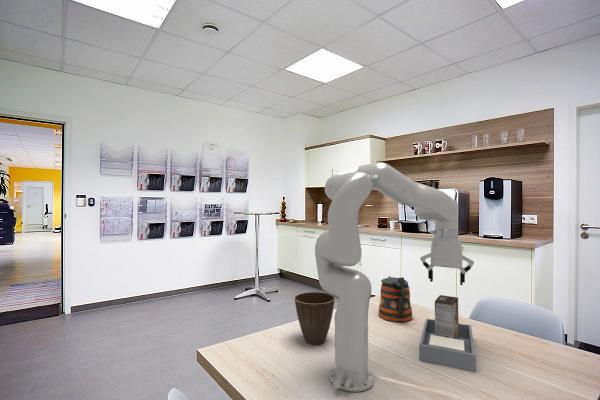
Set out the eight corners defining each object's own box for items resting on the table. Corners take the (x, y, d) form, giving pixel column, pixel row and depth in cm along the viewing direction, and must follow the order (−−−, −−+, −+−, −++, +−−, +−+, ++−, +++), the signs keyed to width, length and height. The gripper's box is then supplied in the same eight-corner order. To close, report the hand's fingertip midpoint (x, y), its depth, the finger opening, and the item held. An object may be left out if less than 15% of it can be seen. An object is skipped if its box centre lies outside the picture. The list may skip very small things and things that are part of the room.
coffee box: (440, 337, 116) (439, 294, 116) (459, 341, 112) (458, 297, 113) (434, 346, 108) (434, 300, 109) (454, 351, 105) (454, 303, 105)
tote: (475, 375, 92) (475, 355, 92) (419, 363, 99) (419, 344, 99) (471, 341, 115) (471, 325, 115) (425, 333, 122) (425, 318, 122)
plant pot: (289, 347, 110) (289, 302, 111) (299, 330, 125) (299, 290, 125) (331, 351, 107) (331, 305, 107) (337, 334, 121) (336, 293, 122)
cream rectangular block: (464, 367, 95) (464, 350, 95) (429, 360, 99) (429, 344, 99) (463, 355, 102) (463, 340, 102) (430, 349, 106) (430, 334, 106)
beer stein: (423, 326, 130) (423, 277, 130) (389, 327, 128) (389, 278, 128) (403, 310, 149) (403, 268, 149) (374, 311, 147) (373, 269, 147)
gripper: (419, 234, 111) (419, 282, 111) (474, 236, 104) (474, 288, 103) (421, 232, 118) (421, 277, 118) (473, 235, 111) (473, 283, 110)
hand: (446, 282), depth 111 cm, fingers open, 9 cm apart
